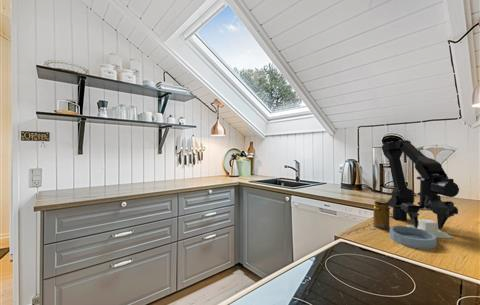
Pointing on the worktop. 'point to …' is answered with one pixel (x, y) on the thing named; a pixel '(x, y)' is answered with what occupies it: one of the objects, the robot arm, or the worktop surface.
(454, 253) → the worktop surface
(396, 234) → the bowl
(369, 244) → the worktop surface
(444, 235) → the tray
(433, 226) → the white matte cube
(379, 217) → the condiment
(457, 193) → the robot arm
